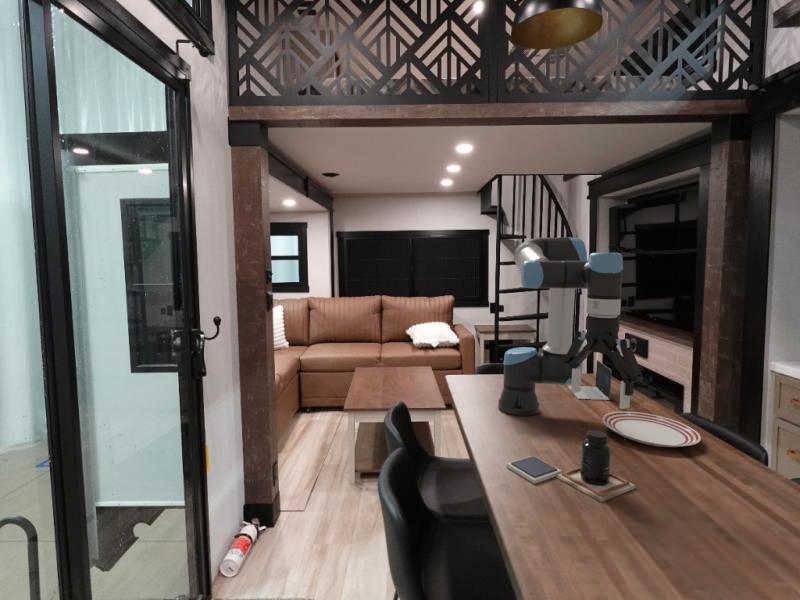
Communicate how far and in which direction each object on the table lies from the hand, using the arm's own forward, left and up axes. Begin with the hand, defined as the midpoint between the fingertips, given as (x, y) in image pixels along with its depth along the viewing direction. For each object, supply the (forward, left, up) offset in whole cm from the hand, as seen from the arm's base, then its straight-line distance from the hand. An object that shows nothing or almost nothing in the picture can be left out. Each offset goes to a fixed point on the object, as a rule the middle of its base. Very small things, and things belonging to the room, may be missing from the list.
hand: (598, 399), depth 106 cm
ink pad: (-12, -9, -22) cm, 26 cm away
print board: (0, 0, -22) cm, 22 cm away
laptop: (-49, +62, -22) cm, 82 cm away
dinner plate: (-11, +42, -22) cm, 48 cm away
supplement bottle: (0, 0, -21) cm, 21 cm away
